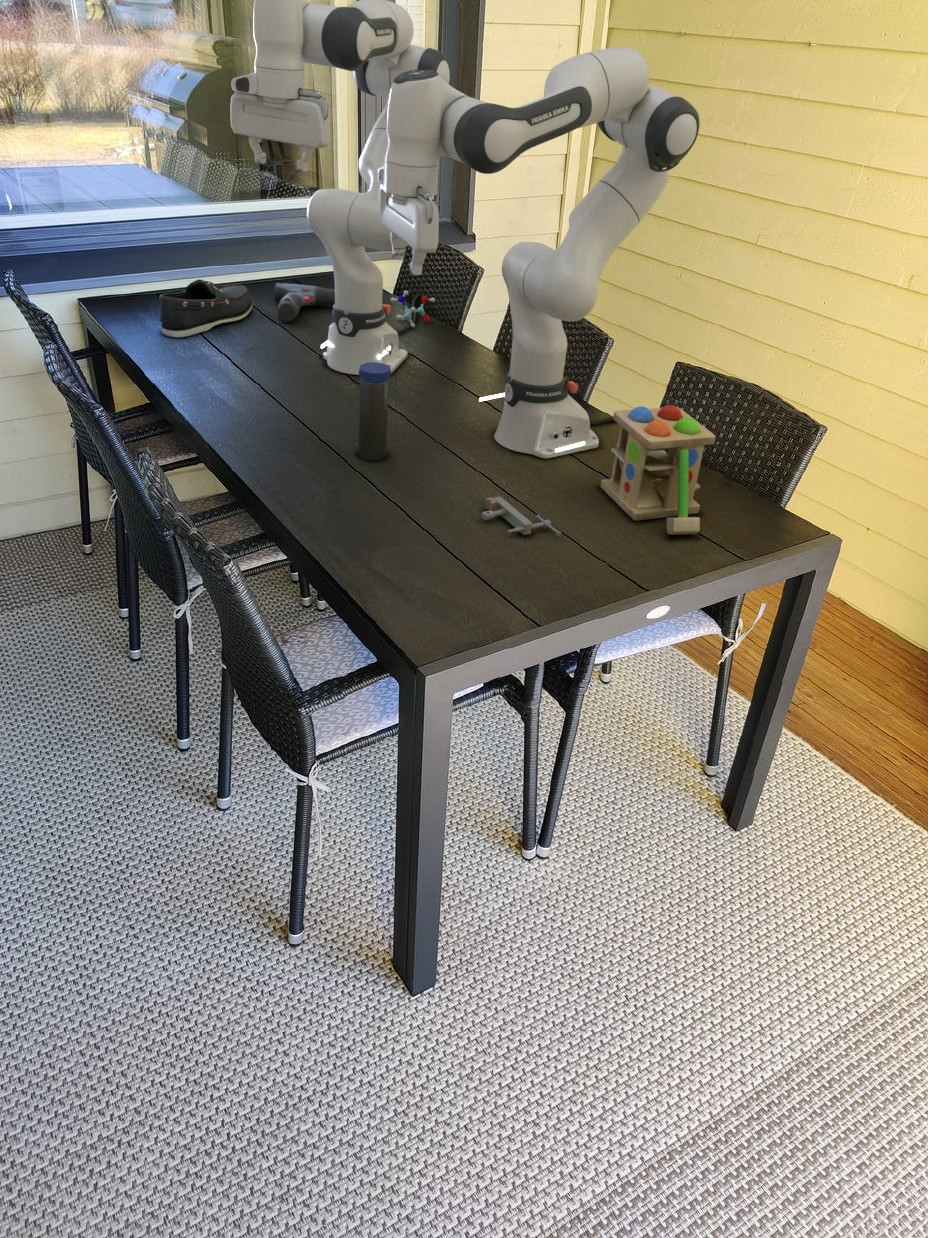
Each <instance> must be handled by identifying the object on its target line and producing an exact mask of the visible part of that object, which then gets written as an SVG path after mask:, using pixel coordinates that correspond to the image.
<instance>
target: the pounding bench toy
mask: <svg viewBox="0 0 928 1238" xmlns="http://www.w3.org/2000/svg"><path fill="white" fill-rule="evenodd" d="M612 417H613V419H614V421H613V422H616V424H617V425H619V426H620V427H619V433H618V438H617V443H616V444H617V445H616V447H611V449H610V450H611V452H612V453H613V454H614V460H613V465H612V471H611V477H610V478H605V479H601V480H600V485H599V486H600V489H602V490H603V492H605V493H606V494H607V495H608V496H609V498H611V500H613V501H614V503H616V505H618V506H619V507H620V508H621V509H622V510H623V511H624V512H625V513H626V514H627V515H628V516H629V517H630V518H631V519H632V520H633V521H635V522H636V521H643V520H653V519H662V518H666V533H667V534H668V535H670V536H671V535H673V536H674V535H675V536H677V535H697V534H699V533H700V529H701V518H700V517H697V516H689V515H694V514H699V512H700V508H701V505H700V504H699V503H698V502H697V501H696V500H695V499H694V496H695V493H696V490H698V489H700V488H701V485H700V484H699V483H698V477H699V473H700V468H701V463H702V459H703V454H704V449H705V446H708V445H714V444H715V441H716V435H715V434H714V433H713V432H712V431H711V430H709V429H708V428H706V427H705V426H704V425H702V423H700V422H699V421H698V420H697V419H695V418H693V417H692V416H691V415H689V414H688V413H687V412H686V411H684V410H683V409H682V408H680V407H678V406H676V405H673V404H667V405H664V406H662V407H654V408H653V407H652V408H648V407H646V406H642V405H641V406H635V407H634V408H633V409H621V410H619V409H617V410H614V411H613V415H612ZM664 449H668V453H667V452H666V451H665V450H664ZM648 450H650V451H648ZM651 450H652V451H651Z"/></svg>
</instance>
